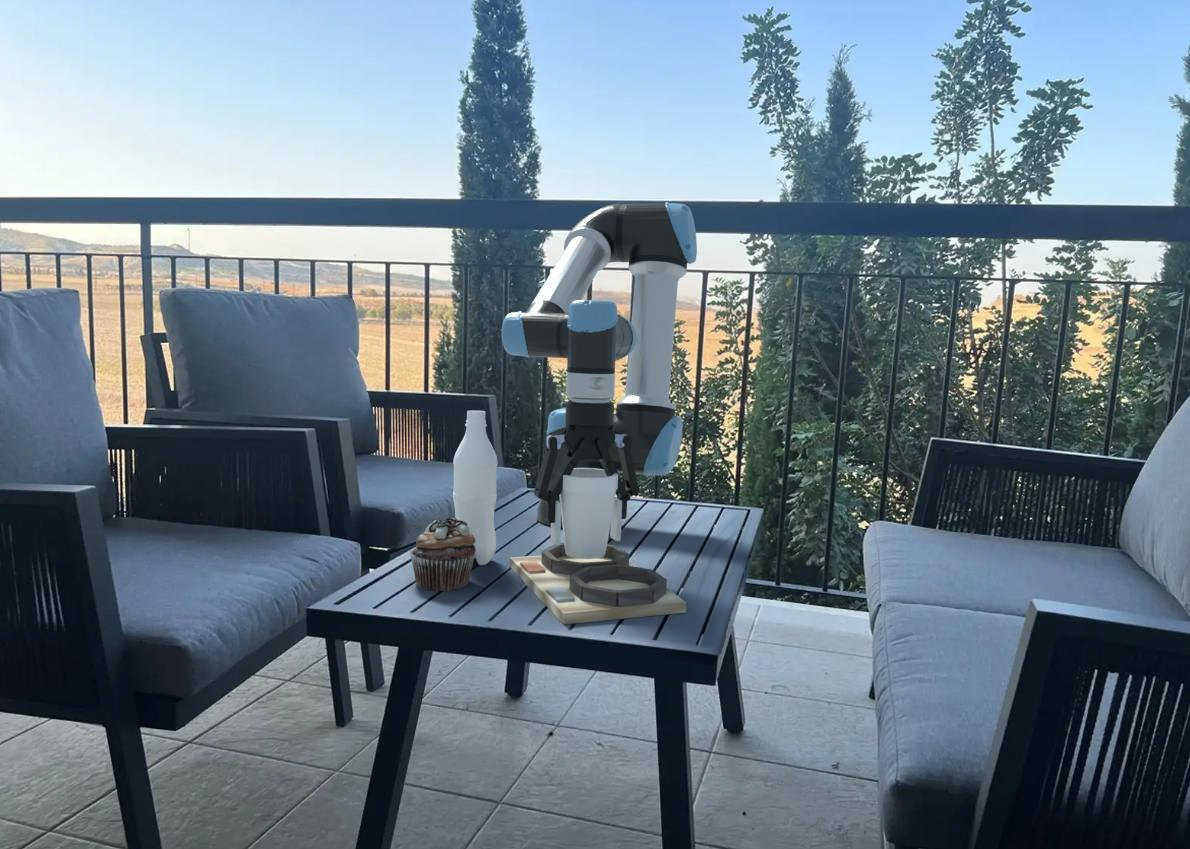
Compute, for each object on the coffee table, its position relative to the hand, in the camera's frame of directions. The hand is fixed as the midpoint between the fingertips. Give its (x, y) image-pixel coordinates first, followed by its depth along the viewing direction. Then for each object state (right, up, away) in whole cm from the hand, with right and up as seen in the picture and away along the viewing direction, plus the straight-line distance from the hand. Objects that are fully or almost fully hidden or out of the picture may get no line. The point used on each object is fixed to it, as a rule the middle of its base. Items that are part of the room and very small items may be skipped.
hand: (585, 540), depth 135 cm
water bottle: (-19, -4, +5) cm, 20 cm away
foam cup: (0, -2, 0) cm, 2 cm away
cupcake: (-22, -6, -6) cm, 23 cm away
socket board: (+1, -6, -6) cm, 9 cm away
